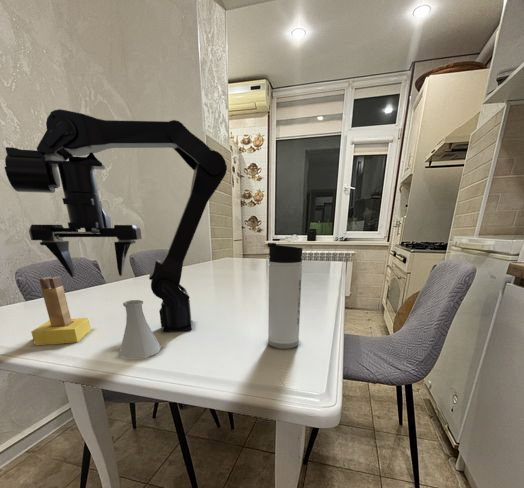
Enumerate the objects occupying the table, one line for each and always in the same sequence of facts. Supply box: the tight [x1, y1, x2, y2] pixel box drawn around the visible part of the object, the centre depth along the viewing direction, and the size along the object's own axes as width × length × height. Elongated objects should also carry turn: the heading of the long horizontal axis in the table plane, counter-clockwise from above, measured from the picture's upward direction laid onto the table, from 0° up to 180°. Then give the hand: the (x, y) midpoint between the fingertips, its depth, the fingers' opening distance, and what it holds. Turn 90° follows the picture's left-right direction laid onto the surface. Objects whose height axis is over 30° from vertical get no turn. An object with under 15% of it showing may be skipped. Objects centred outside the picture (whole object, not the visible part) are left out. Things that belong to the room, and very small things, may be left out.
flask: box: [119, 299, 162, 360], centre depth 54 cm, size 7×7×10 cm
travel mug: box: [267, 242, 303, 350], centre depth 57 cm, size 6×7×20 cm
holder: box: [30, 317, 92, 346], centre depth 63 cm, size 8×8×3 cm
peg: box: [38, 276, 72, 327], centre depth 61 cm, size 3×3×13 cm
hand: (97, 276), depth 61 cm, fingers open, 9 cm apart
